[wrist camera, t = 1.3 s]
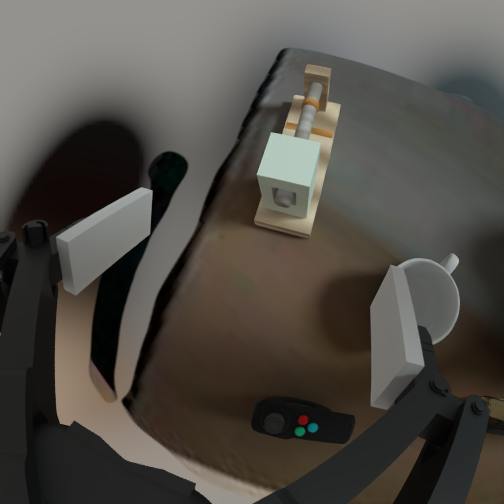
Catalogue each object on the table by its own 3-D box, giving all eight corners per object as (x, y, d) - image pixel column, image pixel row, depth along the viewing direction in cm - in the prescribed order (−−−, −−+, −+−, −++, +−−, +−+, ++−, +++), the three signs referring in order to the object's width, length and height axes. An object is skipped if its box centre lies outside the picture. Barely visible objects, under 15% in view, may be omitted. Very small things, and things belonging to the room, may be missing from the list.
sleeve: (306, 218, 43) (309, 186, 33) (264, 208, 44) (256, 174, 35) (316, 181, 44) (320, 142, 35) (276, 171, 45) (271, 132, 36)
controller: (261, 386, 41) (253, 402, 31) (348, 402, 38) (364, 421, 29) (254, 414, 40) (244, 437, 30) (340, 430, 38) (353, 456, 28)
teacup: (392, 360, 39) (412, 365, 31) (352, 297, 42) (365, 289, 34) (460, 302, 39) (487, 296, 32) (423, 244, 42) (445, 227, 35)
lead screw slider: (309, 238, 45) (313, 212, 35) (255, 225, 46) (245, 195, 36) (339, 111, 50) (345, 69, 39) (294, 102, 51) (293, 59, 41)
